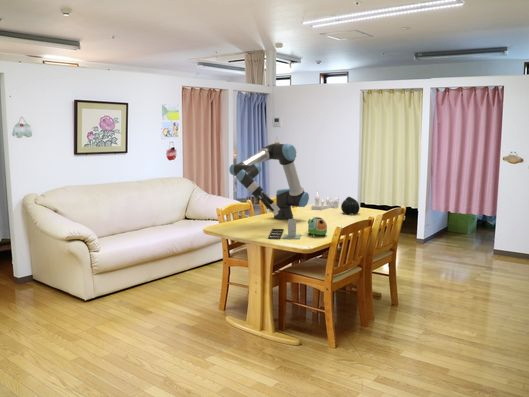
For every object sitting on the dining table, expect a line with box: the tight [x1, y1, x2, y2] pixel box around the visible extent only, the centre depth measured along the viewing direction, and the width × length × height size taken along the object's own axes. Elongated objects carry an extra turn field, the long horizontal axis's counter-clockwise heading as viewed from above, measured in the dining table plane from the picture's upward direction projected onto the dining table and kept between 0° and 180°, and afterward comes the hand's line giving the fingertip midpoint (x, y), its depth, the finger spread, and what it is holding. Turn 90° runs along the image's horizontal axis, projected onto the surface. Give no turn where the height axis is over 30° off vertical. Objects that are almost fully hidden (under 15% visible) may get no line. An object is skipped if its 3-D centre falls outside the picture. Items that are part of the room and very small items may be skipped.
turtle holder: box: [307, 216, 328, 238], centre depth 331 cm, size 12×18×12 cm
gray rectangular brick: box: [287, 218, 297, 237], centre depth 323 cm, size 5×5×11 cm
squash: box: [340, 196, 360, 215], centre depth 409 cm, size 14×15×15 cm
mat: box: [282, 233, 302, 240], centre depth 324 cm, size 11×11×1 cm
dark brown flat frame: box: [267, 228, 285, 240], centre depth 331 cm, size 26×8×1 cm, turn 173°
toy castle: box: [310, 191, 340, 211], centre depth 433 cm, size 14×25×16 cm, turn 140°
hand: (277, 212), depth 323 cm, fingers open, 13 cm apart
